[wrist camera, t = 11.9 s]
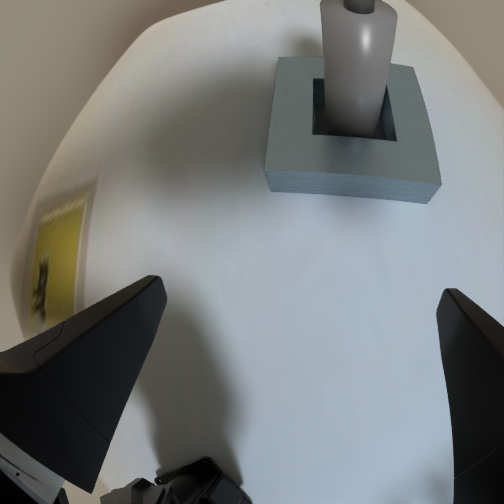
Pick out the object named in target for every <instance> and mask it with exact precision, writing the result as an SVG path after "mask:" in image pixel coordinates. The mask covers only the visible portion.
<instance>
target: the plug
mask: <svg viewBox="0 0 504 504" xmlns="http://www.w3.org/2000/svg"><path fill="white" fill-rule="evenodd" d="M320 10H321V23H322V38H323V57H324V86H325V135H329V136H344V137H357V138H368V139H374V137H375V133H376V129H377V125H378V120H379V116H380V112H381V107H382V103H383V98H384V93H385V88H386V83H387V78H388V73H389V68H390V62H391V57H392V51H393V45H394V38H395V31H396V24H397V13H396V11H395V10H394V9H393V8H392V7H391V6H390V5H388V4H387V3H385V2H383V1H381V0H322V1H321V2H320Z"/></svg>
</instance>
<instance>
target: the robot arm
mask: <svg viewBox="0 0 504 504" xmlns="http://www.w3.org/2000/svg"><path fill="white" fill-rule="evenodd" d="M166 303H167V294H166V291H165V288H164V285H163V281H162V279H161V277H160V276H155V275H148V276H146V277H144V278H142V279H140V280H138V281H137V282H135V283H133V284H131V285H129V286H127V287H125V288H123V289H122V290H120V291H118V292H116V293H114V294H112V295H110V296H109V297H107V298H105V299H103V300H101V301H99V302H97V303H96V304H94V305H92V306H90V307H88V308H87V309H85V310H83V311H81V312H79V313H77V314H76V315H74V316H72V317H70V318H68V319H67V320H66V321H63V322H61V323H59V324H58V325H56V326H54V327H52V328H50V329H49V330H47V331H45V332H43V333H41V334H39V335H37V336H35V337H33V338H31V339H29V340H27V341H25V342H23V343H21V344H19V345H17V346H14V347H12V348H10V349H8V350H6V351H3V352H0V504H69V502H68V499H67V496H66V492H65V489H64V488H62V485H63V483H64V481H65V480H67V481H69V482H70V483H72V484H74V485H75V486H77V487H79V488H81V489H83V490H85V491H86V492H88V493H90V494H92V492H93V489H94V487H95V484H96V481H97V478H98V475H99V473H100V470H101V467H102V464H103V462H104V459H105V456H106V454H107V451H108V448H109V446H110V443H111V440H112V438H113V435H114V433H115V430H116V428H117V425H118V423H119V420H120V418H121V415H122V413H123V410H124V408H125V405H126V403H127V401H128V398H129V396H130V393H131V391H132V389H133V386H134V384H135V382H136V379H137V377H138V375H139V372H140V370H141V368H142V365H143V363H144V361H145V359H146V356H147V354H148V352H149V350H150V348H151V345H152V343H153V341H154V338H155V335H156V332H157V329H158V326H159V323H160V320H161V317H162V314H163V312H164V309H165V306H166ZM436 317H437V324H438V332H439V341H440V350H441V358H442V364H443V369H444V375H445V381H446V387H447V393H448V401H449V408H450V417H451V426H452V438H453V455H454V499H453V504H504V327H503V326H502V325H501V324H500V323H499V322H498V321H496V320H495V319H494V318H493V317H492V316H490V315H489V314H488V313H487V312H486V311H484V310H483V309H482V308H481V307H479V306H478V305H477V304H476V303H474V302H473V301H472V300H471V299H469V298H468V297H467V296H466V295H464V294H463V293H462V292H460V291H459V290H458V289H456V288H446V289H445V290H444V291H443V293H442V296H441V299H440V302H439V305H438V308H437V312H436ZM204 461H207V462H208V463H209V464H206V463H205V462H204ZM159 480H161V482H160V481H159ZM155 483H156V484H157V485H156V486H155V484H154V483H151V482H149V481H147V480H146V479H144V478H137V479H135V480H134V481H132V482H131V483H129V484H128V485H126V486H125V487H123V488H119V489H114V490H112V491H111V492H110V493H108V494H106V495H103V496H101V497H100V501H101V504H250V503H249V502H248V501H247V500H246V498H245V497H244V496H243V494H242V492H241V491H240V490H239V489H238V488H237V487H236V486H235V485H234V483H233V482H232V481H231V480H230V479H229V478H228V477H227V475H225V474H223V472H222V471H221V470H220V469H219V468H218V466H217V465H216V464H215V463H214V461H213V460H212V459H211V458H209V457H203V458H200V459H198V460H196V461H194V462H191V463H189V464H187V465H184V466H182V467H180V468H177V469H175V470H172V471H170V472H167V473H165V474H162V475H160V476H158V477H156V478H155Z"/></svg>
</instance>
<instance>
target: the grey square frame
mask: <svg viewBox="0 0 504 504" xmlns="http://www.w3.org/2000/svg"><path fill="white" fill-rule="evenodd" d="M315 104H325V86H324V57H278V64H277V72H276V80H275V88H274V95H273V103H272V111H271V119H270V127H269V135H268V142H267V150H266V158H265V166H264V172H265V175H266V178H267V181H268V184H269V187H270V190H271V192H292V193H311V194H327V195H341V196H354V197H366V198H377V199H387V200H397V201H406V202H415V203H423V204H427V203H428V202H429V201H430V199H431V198H432V197H433V196H434V194H435V193H436V192H437V191H438V189H439V188H440V187H441V185H442V183H441V176H440V170H439V164H438V159H437V153H436V148H435V143H434V139H433V134H432V130H431V126H430V122H429V118H428V114H427V110H426V106H425V103H424V99H423V96H422V93H421V89H420V86H419V83H418V80H417V77H416V74H415V71H414V68H413V67H410V66H404V65H398V64H391V63H390V68H389V73H388V78H387V83H386V88H385V93H384V98H383V103H382V107H381V110H382V117H383V124H384V131H385V139H386V140H377V139H368V138H357V137H344V136H329V135H314V109H315Z"/></svg>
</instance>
